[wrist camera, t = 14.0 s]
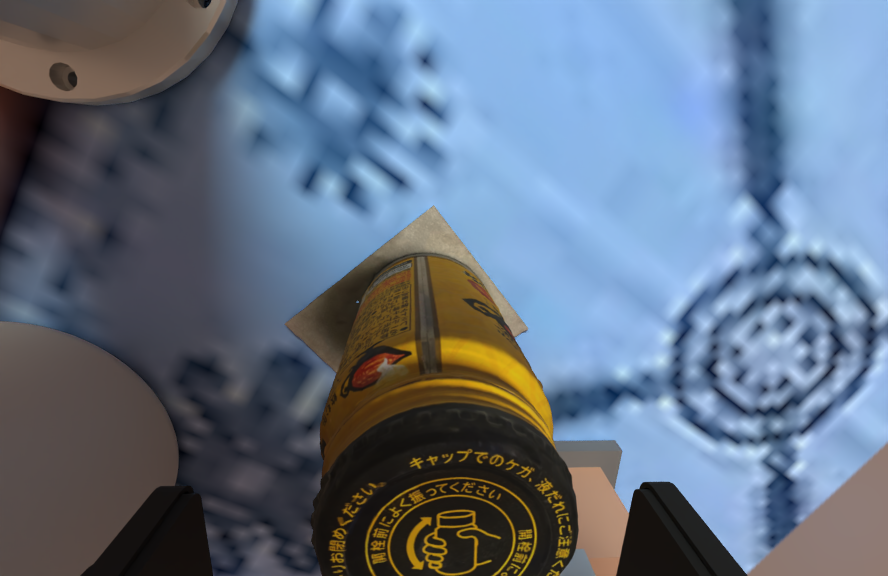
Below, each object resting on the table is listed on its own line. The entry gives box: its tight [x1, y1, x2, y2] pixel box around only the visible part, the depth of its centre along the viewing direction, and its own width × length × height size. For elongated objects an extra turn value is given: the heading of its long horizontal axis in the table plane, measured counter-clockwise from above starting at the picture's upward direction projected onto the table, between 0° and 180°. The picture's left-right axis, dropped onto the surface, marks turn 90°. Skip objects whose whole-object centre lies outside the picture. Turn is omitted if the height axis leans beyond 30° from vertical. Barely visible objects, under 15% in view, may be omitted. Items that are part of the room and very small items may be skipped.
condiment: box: [285, 206, 579, 576], centre depth 13 cm, size 7×8×12 cm
